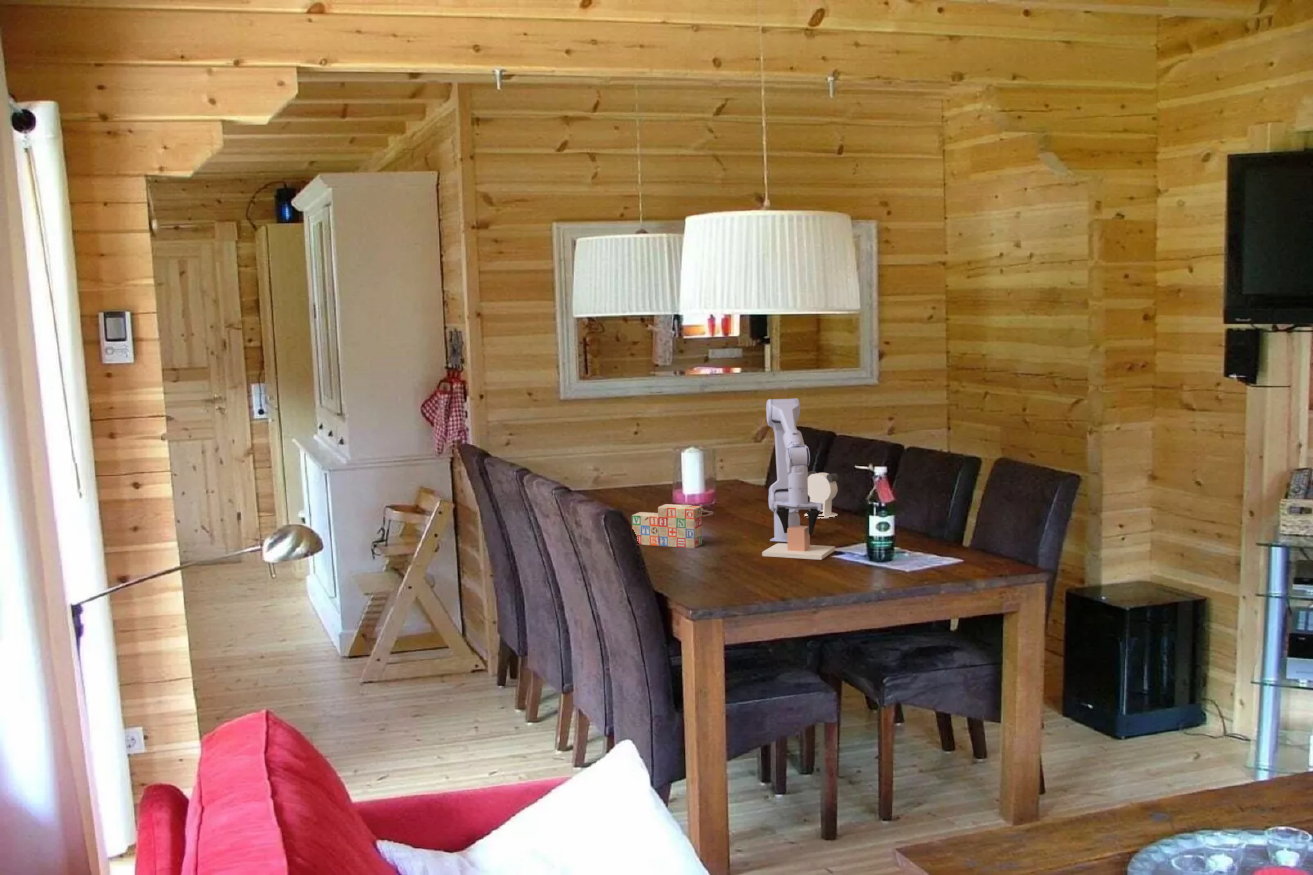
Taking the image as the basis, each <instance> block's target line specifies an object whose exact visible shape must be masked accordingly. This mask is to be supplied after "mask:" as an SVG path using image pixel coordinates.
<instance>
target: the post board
mask: <svg viewBox="0 0 1313 875" xmlns="http://www.w3.org/2000/svg"><path fill="white" fill-rule="evenodd" d="M835 551H836V546H835V545H833V546H831V545H816V544H810V548H809V549H808V550H806V551H789V550H788V545H787V543H786V542H777V543H775V544H774V545H772V546H770V547H769V548H766V549H764V550H763V551H762V552H761V556H762V557H773V558H775V557H776V558H789V559H805V560H820V561H822V560H823V559H825V558H826V557H827V556H829V555H831V554H832V553H834V552H835Z"/></svg>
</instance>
